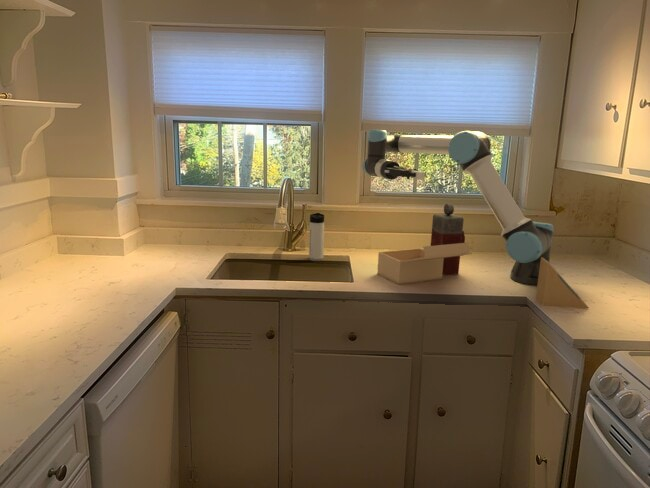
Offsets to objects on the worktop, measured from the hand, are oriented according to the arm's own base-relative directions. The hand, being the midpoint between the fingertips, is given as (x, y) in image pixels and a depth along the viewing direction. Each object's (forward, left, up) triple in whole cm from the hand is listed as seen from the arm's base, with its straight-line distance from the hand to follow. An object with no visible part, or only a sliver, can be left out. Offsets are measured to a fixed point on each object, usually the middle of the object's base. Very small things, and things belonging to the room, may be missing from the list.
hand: (422, 176), depth 182 cm
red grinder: (+2, -18, -40) cm, 44 cm away
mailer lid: (-10, +1, -24) cm, 26 cm away
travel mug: (+41, +21, -40) cm, 61 cm away
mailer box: (+3, 0, -40) cm, 40 cm away
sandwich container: (-44, -28, -40) cm, 65 cm away
